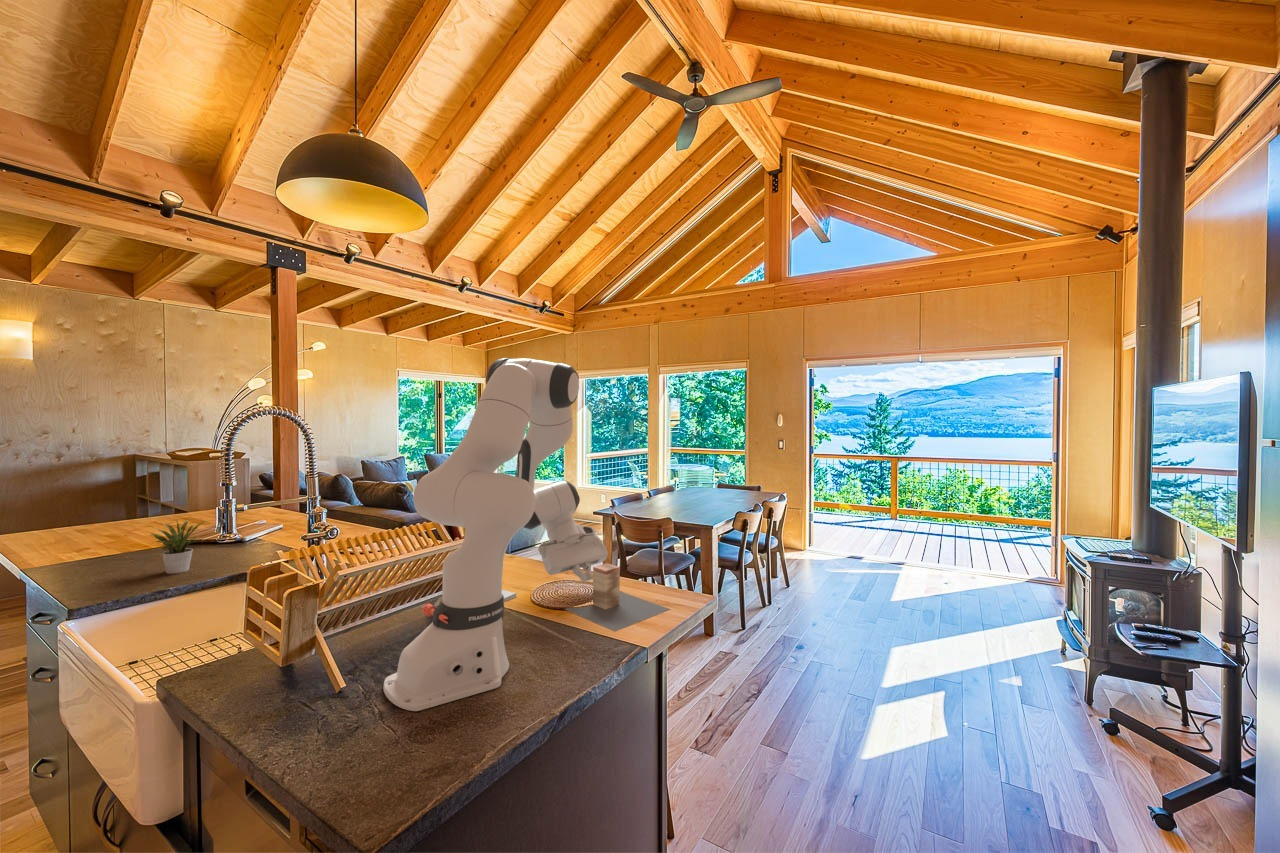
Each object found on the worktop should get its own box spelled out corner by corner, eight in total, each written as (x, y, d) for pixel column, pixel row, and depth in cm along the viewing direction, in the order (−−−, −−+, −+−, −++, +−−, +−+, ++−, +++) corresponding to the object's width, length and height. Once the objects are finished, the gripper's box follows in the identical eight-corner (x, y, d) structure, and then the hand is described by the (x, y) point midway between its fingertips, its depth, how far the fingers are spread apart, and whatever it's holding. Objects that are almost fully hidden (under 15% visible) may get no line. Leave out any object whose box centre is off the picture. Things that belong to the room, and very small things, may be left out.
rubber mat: (614, 633, 118) (614, 631, 118) (564, 611, 131) (564, 609, 131) (670, 611, 133) (670, 609, 133) (619, 593, 146) (619, 591, 146)
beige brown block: (605, 609, 132) (605, 570, 131) (592, 604, 135) (593, 566, 135) (619, 604, 135) (619, 567, 135) (606, 599, 139) (607, 563, 138)
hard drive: (494, 587, 145) (459, 600, 135) (516, 592, 141) (482, 606, 131) (494, 593, 145) (459, 606, 135) (516, 598, 141) (482, 613, 131)
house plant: (203, 561, 169) (204, 512, 169) (218, 568, 162) (218, 517, 161) (144, 571, 158) (145, 518, 157) (157, 579, 150) (158, 524, 150)
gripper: (541, 537, 138) (562, 582, 131) (597, 526, 152) (620, 566, 146) (531, 550, 141) (552, 594, 134) (587, 539, 156) (609, 578, 149)
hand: (588, 580), depth 140 cm, fingers closed
